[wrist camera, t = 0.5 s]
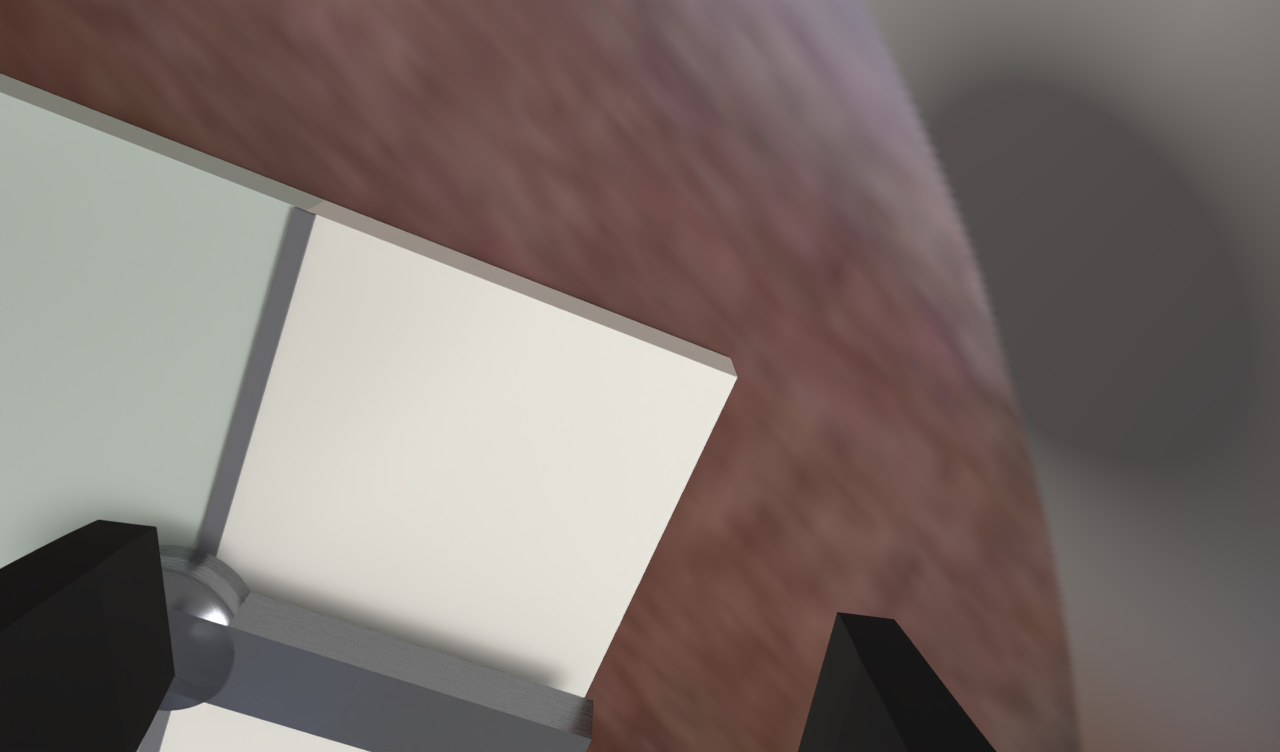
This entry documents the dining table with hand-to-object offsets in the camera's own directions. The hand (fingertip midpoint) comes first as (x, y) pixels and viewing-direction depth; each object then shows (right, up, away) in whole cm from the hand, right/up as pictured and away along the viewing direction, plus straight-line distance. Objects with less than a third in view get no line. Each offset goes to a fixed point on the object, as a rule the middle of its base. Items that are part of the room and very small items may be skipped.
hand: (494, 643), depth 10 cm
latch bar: (-5, -3, +10) cm, 12 cm away
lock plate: (-9, -1, +11) cm, 15 cm away
